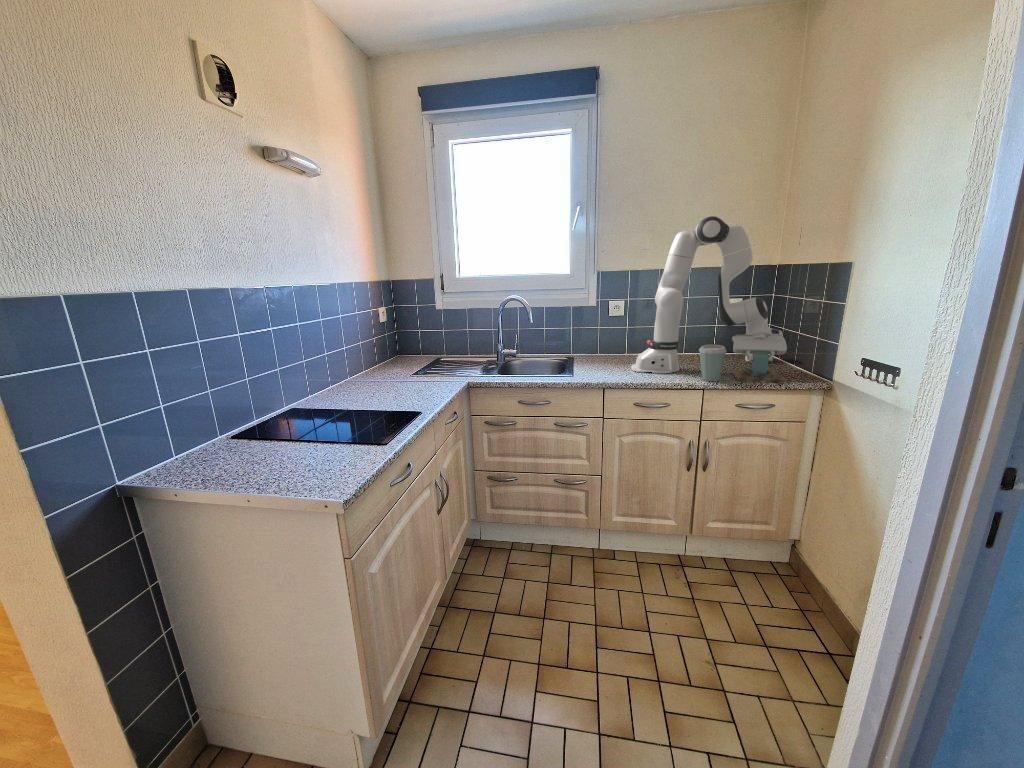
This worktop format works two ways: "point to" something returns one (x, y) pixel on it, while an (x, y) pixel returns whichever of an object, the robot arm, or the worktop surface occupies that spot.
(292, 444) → the worktop surface
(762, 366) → the pillar
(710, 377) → the disposable coffee cup
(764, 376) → the base board
